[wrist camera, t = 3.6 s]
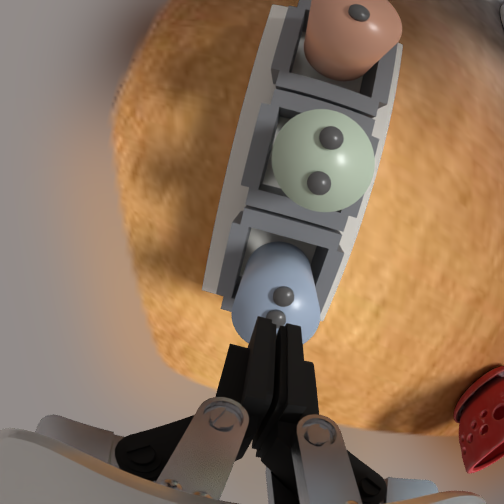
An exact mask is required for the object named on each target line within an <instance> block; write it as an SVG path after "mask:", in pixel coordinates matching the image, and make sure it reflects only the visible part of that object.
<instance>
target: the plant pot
mask: <svg viewBox="0 0 504 504" xmlns="http://www.w3.org/2000/svg"><path fill="white" fill-rule="evenodd" d="M454 420H455V421H456V422H457V423H460V424H459V443H460V446H461V451H462V458H463V462H464V465H465V468H466V472H467V473H474V472H477V471H480V470H482V469H484V468H486V467H488V466H489V465H491V464H493V463H494V462H496V461H497V460H499V459H500V458H502V457H503V456H504V366H500V367H497V368H495V369H492V370H491V371H489V372H488V373H486V374H485V375H483V376H482V377H481V378H479V379H478V380H477V381H476V382H475V383H473V384H472V385H471V386H470V387H469V388H468V390H467V391H466V392H465V393H464V394H463V395H462V397H461V398H460V400H459V401H458V403H457V405H456V407H455V410H454ZM483 434H485V435H483Z"/></svg>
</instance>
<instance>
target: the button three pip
mask: <svg viewBox="0 0 504 504" xmlns="http://www.w3.org/2000/svg"><path fill="white" fill-rule="evenodd" d="M258 316H260V317H264V318H268V319H272V323H273V324H276V325H277V328H276V335H277V332H278V330H279V327H280V326H285V325H286V323H289V324H293V325H298V326H301V331H302V343H303V344H304V343H305V342H307V341H308V340H309V339H310V338H311V337H312V336H313V335H314V333H315V332H316V330H317V328H318V325H319V322H320V307H319V302H318V297H317V293H316V288H315V284H314V279H313V275H312V270H311V266H310V263H309V260H308V258H307V256H306V255H305V254H304V252H303V251H302V250H300V249H299V248H298V247H296V246H294V245H292V244H290V243H287V242H279V241H278V242H270V243H267V244H264V245H262V246H260V247H259V248H257V249H256V250H255V251H254V252H253V253H252V254H251V256H250V257H249V259H248V262H247V265H246V268H245V271H244V274H243V277H242V279H241V282H240V285H239V288H238V291H237V294H236V297H235V300H234V303H233V306H232V322H233V325H234V327H235V329H236V331H237V333H238V334H239V335H240V336H241V338H242V339H244V340H245V341H246V342H247V343H249V342H250V339H251V336H252V333H253V329H254V326H255V323H256V320H257V317H258Z"/></svg>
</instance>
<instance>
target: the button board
mask: <svg viewBox="0 0 504 504" xmlns="http://www.w3.org/2000/svg"><path fill="white" fill-rule="evenodd" d="M311 1H312V0H299V3H298V6H297V7H293V6H289V7H285V6H280V5H274V4H272V7H271V10H270V13H269V16H268V20H267V23H266V26H265V29H264V32H263V36H262V39H261V42H260V45H259V49H258V52H257V56H256V59H255V62H254V66H253V69H252V73H251V76H250V80H249V84H248V87H247V91H246V95H245V98H244V102H243V106H242V110H241V113H240V117H239V121H238V125H237V129H236V133H235V137H234V141H233V145H232V149H231V153H230V158H229V162H228V166H227V170H226V175H225V179H224V183H223V188H222V192H221V197H220V201H219V206H218V211H217V215H216V220H215V225H214V230H213V235H212V240H211V245H210V250H209V255H208V260H207V265H206V270H205V276H204V281H203V287H202V290H204V291H207V292H210V293H214V294H217V295H221V296H224V297H223V301H222V306H221V309H223V310H227V311H230V312H232V306H233V303H234V300H235V297H236V294H237V291H238V288H239V285H240V282H241V279H242V277H243V274H244V271H245V268H246V265H247V262H248V259H249V257H250V256H251V254H252V253H253V252H254V251H255V250H256V249H257V248H259V247H260V246H262V245H264V244H267V243H270V242H278V241H279V242H287V243H290V244H292V245H294V246H296V247H298V248H299V249H300V250H302V251H303V252H304V254H305V255H306V256H307V258H308V260H309V263H310V266H311V270H312V275H313V279H314V284H315V288H316V293H317V297H318V302H319V307H320V321H323V320H324V318H325V316H326V313H327V311H328V309H329V306H330V304H331V302H332V299H333V297H334V294H335V292H336V290H337V287H338V285H339V282H340V280H341V277H342V275H343V272H344V269H345V267H346V264H347V262H348V259H349V256H350V253H351V251H352V248H353V245H354V242H355V240H356V237H357V234H358V231H359V228H360V225H361V222H362V219H363V216H364V213H365V210H366V207H367V204H368V201H369V197H370V194H371V191H372V187H373V184H374V181H375V177H376V174H377V170H378V166H379V163H380V159H381V155H382V151H383V147H384V143H385V139H386V135H387V131H388V127H389V122H390V118H391V113H392V108H393V103H394V98H395V93H396V88H397V82H398V76H399V70H400V63H401V56H402V49H403V45H402V44H400V43H397V44H396V45H395V46H394V47H392V48H391V49H390V50H389V51H388V52H387V53H386V54H385V55H384V56H383V57H382V58H381V59H380V60H379V61H377V62H376V63H375V64H374V65H373V66H372V67H371V68H370V69H369V70H368V71H367V72H366V73H365V74H364V75H363V76H361V77H360V78H358V79H355V80H351V81H337V80H333V79H330V78H327V77H325V76H323V75H321V74H320V73H318V72H317V71H316V70H315V69H314V68H313V67H312V66H311V65H310V64H309V62H308V61H307V59H306V57H305V54H304V40H305V35H306V29H307V24H308V18H309V12H310V7H311ZM315 109H327V110H333V111H337V112H339V113H342V114H344V115H346V116H348V117H350V118H351V119H352V120H354V121H355V122H356V123H357V124H358V125H359V126H360V127H361V128H362V129H363V130H364V132H365V133H366V135H367V136H368V138H369V140H370V142H371V145H372V148H373V152H374V157H375V167H374V174H373V178H372V181H371V183H370V185H369V187H368V189H367V190H366V192H365V193H364V195H363V196H362V197H361V198H360V199H359V200H358V201H356V202H355V203H354V204H352V205H351V206H349V207H347V208H344V209H342V210H338V211H334V212H317V211H312V210H309V209H306V208H304V207H302V206H300V205H298V204H296V203H295V202H293V201H292V200H291V199H290V198H289V197H288V196H287V195H286V194H285V193H284V192H283V191H282V189H281V188H280V186H279V184H278V182H277V181H276V178H275V175H274V172H273V168H272V149H273V145H274V142H275V139H276V137H277V135H278V133H279V132H280V130H281V129H282V127H283V126H284V125H285V124H286V123H287V122H288V121H289V120H290V119H292V118H293V117H295V116H296V115H298V114H301V113H303V112H306V111H309V110H315Z"/></svg>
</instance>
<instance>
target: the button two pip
mask: <svg viewBox="0 0 504 504" xmlns="http://www.w3.org/2000/svg"><path fill="white" fill-rule="evenodd" d="M374 167H375V157H374V152H373V148H372V145H371V142H370V140H369V138H368V136H367V135H366V133H365V132H364V130H363V129H362V128H361V127H360V126H359V125H358V124H357V123H356V122H355V121H354V120H352V119H351V118H350V117H348V116H346V115H344V114H342V113H339V112H337V111H333V110H327V109H315V110H309V111H306V112H303V113H301V114H298V115H296V116H295V117H293V118H292V119H290V120H289V121H288V122H287V123H286V124H285V125H284V126H283V127H282V129H281V130H280V132H279V133H278V135H277V137H276V139H275V142H274V145H273V149H272V168H273V172H274V175H275V178H276V181H277V182H278V184H279V186H280V188H281V189H282V191H283V192H284V193H285V194H286V195H287V196H288V197H289V198H290V199H291V200H292V201H293V202H295V203H296V204H298V205H300V206H302V207H304V208H306V209H309V210H312V211H317V212H334V211H338V210H342V209H344V208H347V207H349V206H351V205H352V204H354V203H355V202H356V201H358V200H359V199H360V198H361V197H362V196H363V195H364V193H365V192H366V190H367V189H368V187H369V185H370V183H371V181H372V178H373V174H374Z"/></svg>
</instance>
